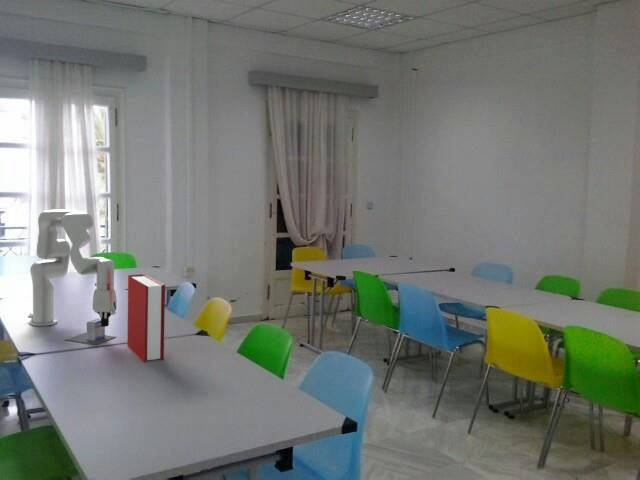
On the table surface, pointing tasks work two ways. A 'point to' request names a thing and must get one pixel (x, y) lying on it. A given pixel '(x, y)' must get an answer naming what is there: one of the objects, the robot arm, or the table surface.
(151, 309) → the book
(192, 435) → the table surface
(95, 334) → the medicine box
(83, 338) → the charcoal rubber mat
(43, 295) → the robot arm
